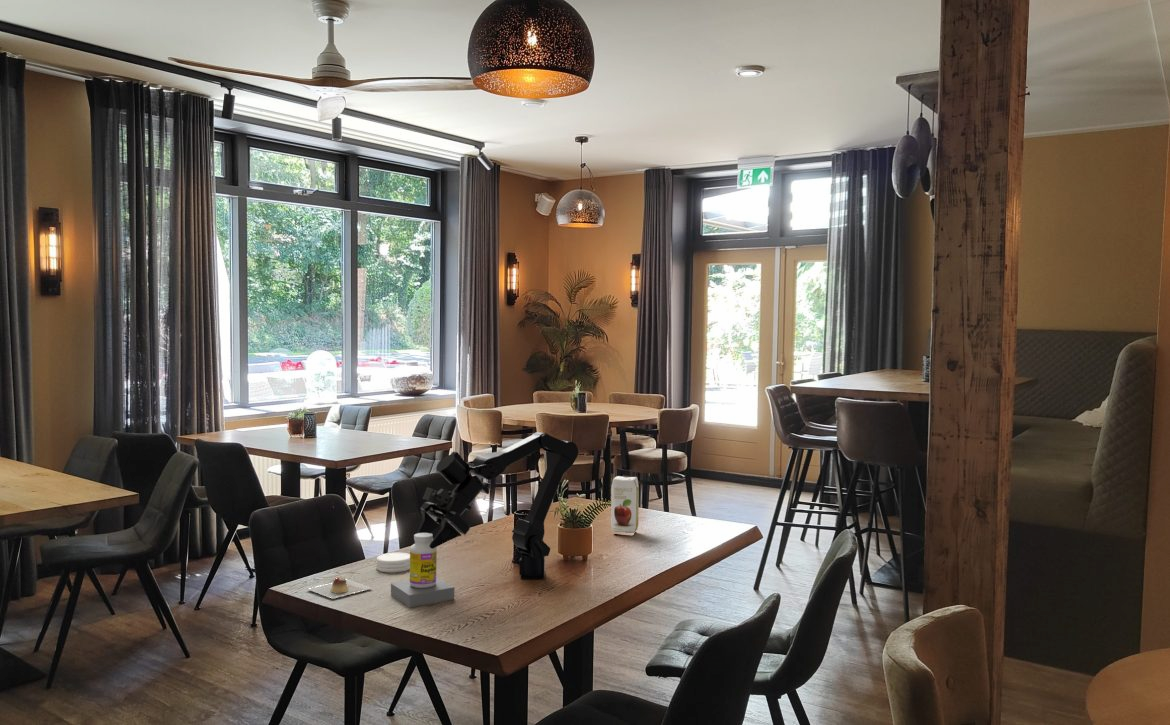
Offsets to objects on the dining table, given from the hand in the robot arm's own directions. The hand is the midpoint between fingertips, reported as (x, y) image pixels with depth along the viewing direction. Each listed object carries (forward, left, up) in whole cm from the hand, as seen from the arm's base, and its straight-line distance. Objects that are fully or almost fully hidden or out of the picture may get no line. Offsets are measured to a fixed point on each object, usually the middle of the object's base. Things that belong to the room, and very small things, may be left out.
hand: (423, 543), depth 214 cm
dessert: (+23, -5, -14) cm, 27 cm away
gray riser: (0, 0, -14) cm, 14 cm away
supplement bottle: (0, 0, -11) cm, 11 cm away
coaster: (+13, -27, -14) cm, 33 cm away
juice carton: (-55, -70, -14) cm, 90 cm away
